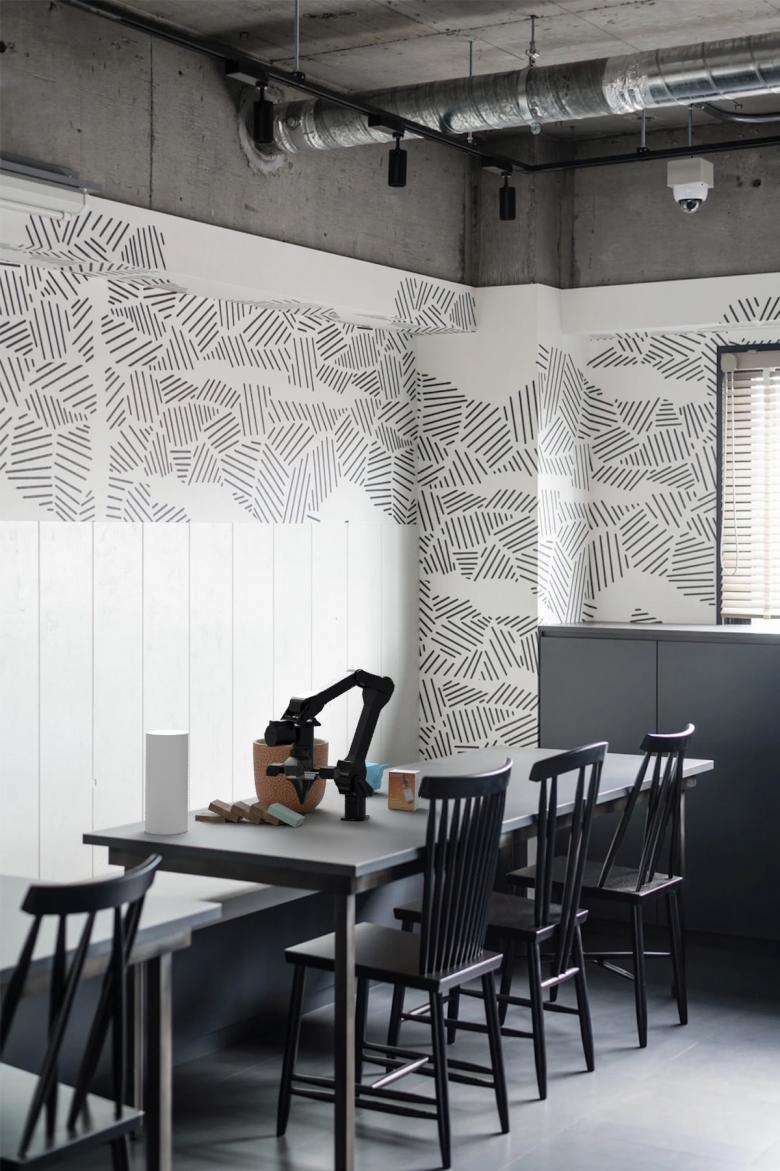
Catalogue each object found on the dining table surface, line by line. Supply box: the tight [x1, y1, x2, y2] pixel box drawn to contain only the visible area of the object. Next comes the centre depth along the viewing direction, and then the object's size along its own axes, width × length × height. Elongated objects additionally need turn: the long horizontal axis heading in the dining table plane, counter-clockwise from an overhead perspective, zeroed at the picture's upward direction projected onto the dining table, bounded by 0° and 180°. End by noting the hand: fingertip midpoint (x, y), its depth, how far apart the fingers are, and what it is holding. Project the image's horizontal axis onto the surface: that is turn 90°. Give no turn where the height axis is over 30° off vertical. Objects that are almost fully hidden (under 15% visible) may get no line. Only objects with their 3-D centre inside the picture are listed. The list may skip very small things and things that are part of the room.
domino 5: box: [267, 803, 305, 828], centre depth 373 cm, size 2×5×8 cm
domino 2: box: [207, 798, 244, 823], centre depth 377 cm, size 2×5×8 cm
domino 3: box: [230, 800, 267, 825], centre depth 376 cm, size 2×5×8 cm
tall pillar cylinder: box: [144, 729, 190, 836], centre depth 362 cm, size 11×11×25 cm
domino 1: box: [194, 811, 231, 824], centre depth 379 cm, size 2×5×8 cm
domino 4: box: [249, 801, 285, 826], centre depth 374 cm, size 2×5×8 cm
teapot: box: [365, 761, 388, 794], centre depth 426 cm, size 18×14×10 cm
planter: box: [252, 737, 329, 814], centre depth 395 cm, size 21×21×19 cm
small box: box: [387, 768, 422, 811], centre depth 399 cm, size 8×6×10 cm
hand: (302, 804), depth 371 cm, fingers closed
